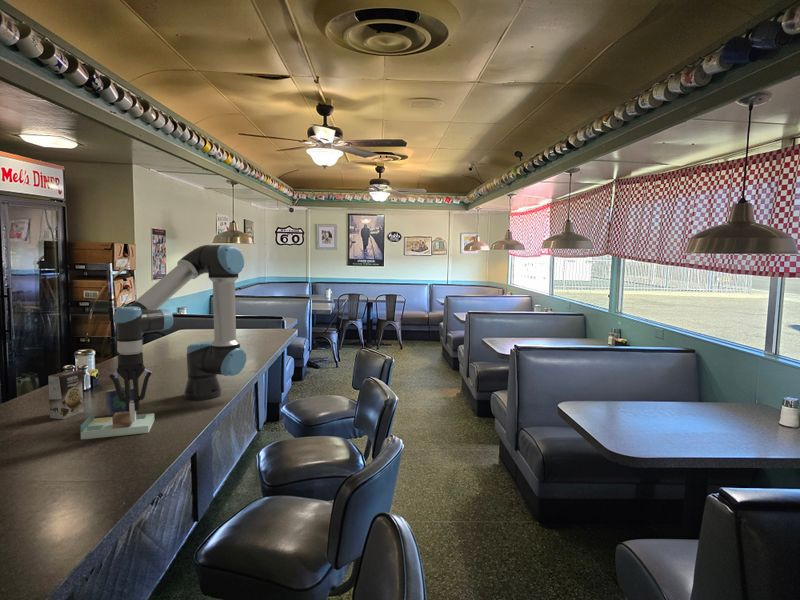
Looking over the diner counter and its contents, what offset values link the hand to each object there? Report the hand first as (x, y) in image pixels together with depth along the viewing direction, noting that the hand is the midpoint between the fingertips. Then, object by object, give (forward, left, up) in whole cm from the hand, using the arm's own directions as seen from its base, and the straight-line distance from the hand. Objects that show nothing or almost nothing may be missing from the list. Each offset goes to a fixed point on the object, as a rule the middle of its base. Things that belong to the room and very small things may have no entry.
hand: (133, 420), depth 170 cm
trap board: (+5, -4, -4) cm, 8 cm away
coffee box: (+27, -27, -4) cm, 38 cm away
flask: (+8, -23, -4) cm, 25 cm away
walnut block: (+3, 0, -2) cm, 4 cm away
